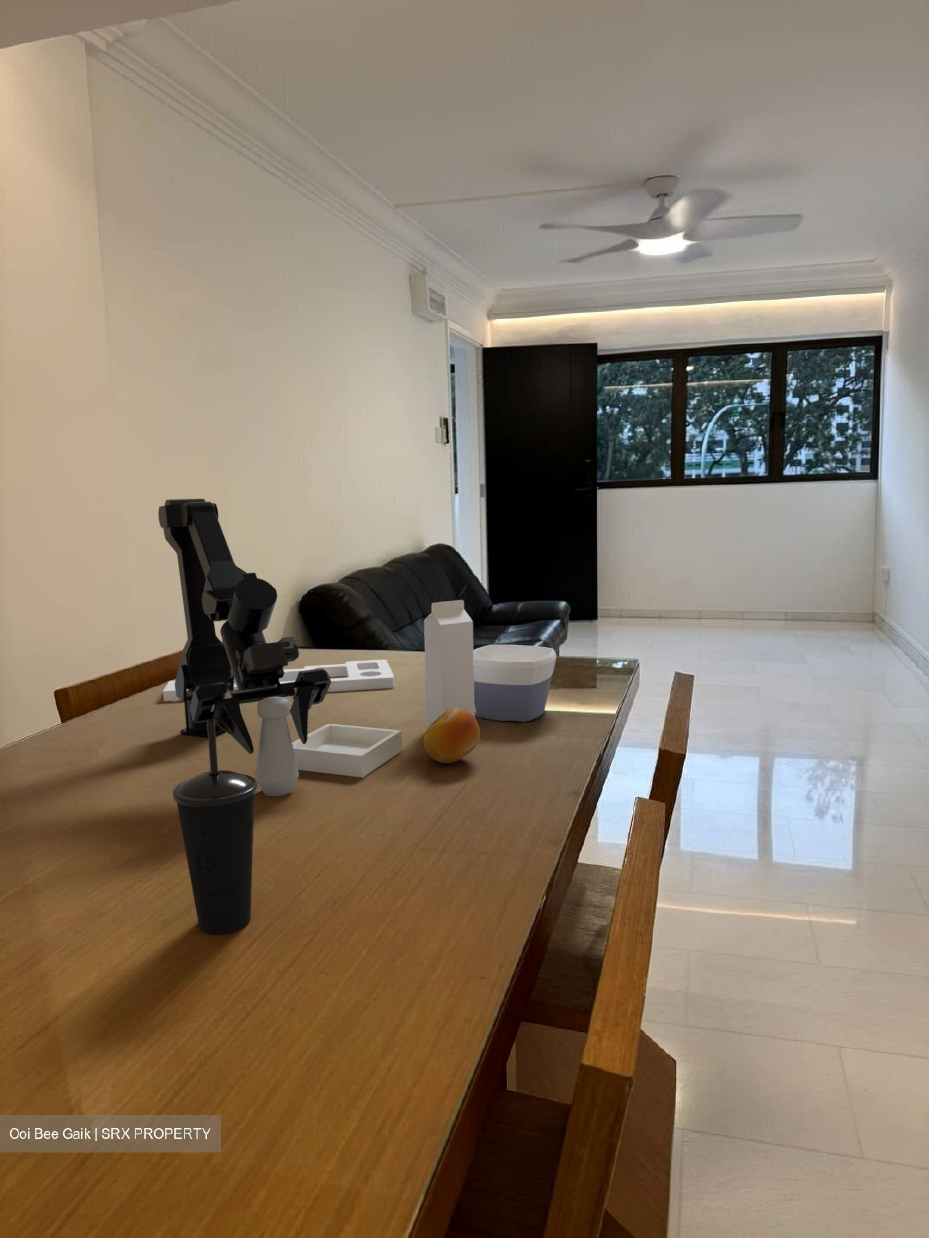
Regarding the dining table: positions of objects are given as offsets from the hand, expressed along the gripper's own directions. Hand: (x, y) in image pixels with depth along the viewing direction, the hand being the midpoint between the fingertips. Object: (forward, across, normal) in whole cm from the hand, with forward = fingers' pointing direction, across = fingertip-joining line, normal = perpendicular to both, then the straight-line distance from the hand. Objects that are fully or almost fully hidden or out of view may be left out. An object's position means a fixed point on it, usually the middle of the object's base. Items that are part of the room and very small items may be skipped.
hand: (279, 747), depth 116 cm
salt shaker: (+4, 0, +6) cm, 7 cm away
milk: (-3, +34, +13) cm, 36 cm away
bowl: (-6, +48, +16) cm, 51 cm away
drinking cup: (+26, -16, -16) cm, 35 cm away
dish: (-2, +13, +11) cm, 17 cm away
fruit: (+6, +26, +4) cm, 27 cm away
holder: (-38, +23, +49) cm, 66 cm away
